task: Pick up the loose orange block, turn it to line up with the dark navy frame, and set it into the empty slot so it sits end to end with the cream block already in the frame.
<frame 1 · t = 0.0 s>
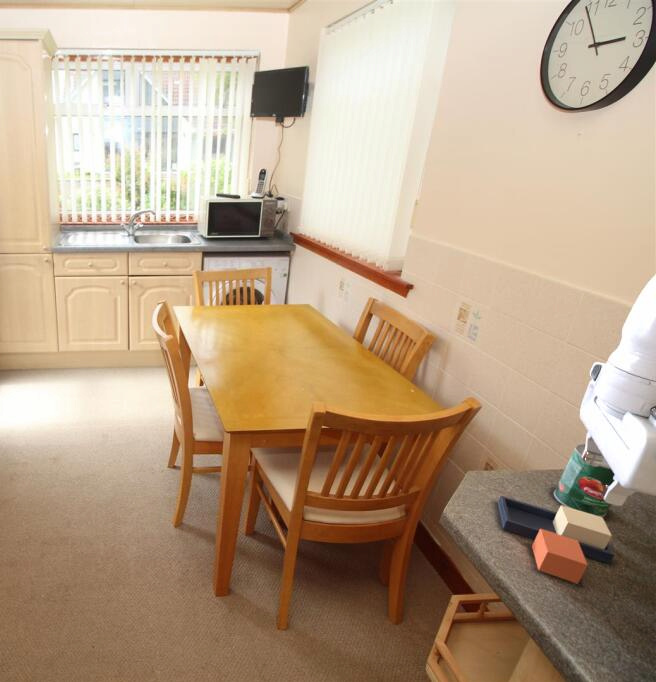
hand: (599, 481, 65), 21 cm above the countertop, tool pointing down, fingers open, 8 cm apart
canned tomato: (578, 503, 92), on the countertop
orange block: (553, 564, 78), on the countertop
frame: (549, 531, 85), on the countertop
cream block: (576, 537, 83), resting on frame
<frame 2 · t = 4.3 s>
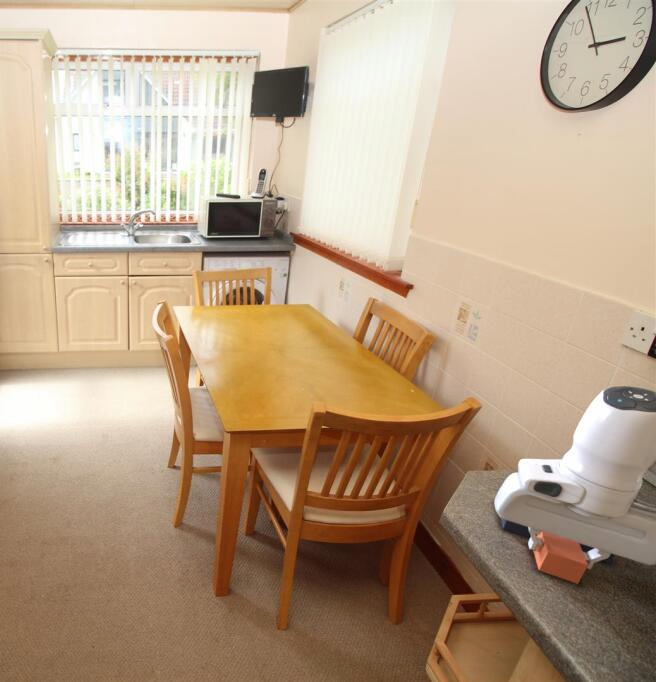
hand: (557, 556, 77), 2 cm above the countertop, tool pointing down, fingers closed on orange block, 5 cm apart
orange block: (553, 564, 78), on the countertop, touching gripper
everything else where it was.
when the fingers open (2 cm above the countertop, at t = 11.9 s): orange block stays where it is, resting on frame.
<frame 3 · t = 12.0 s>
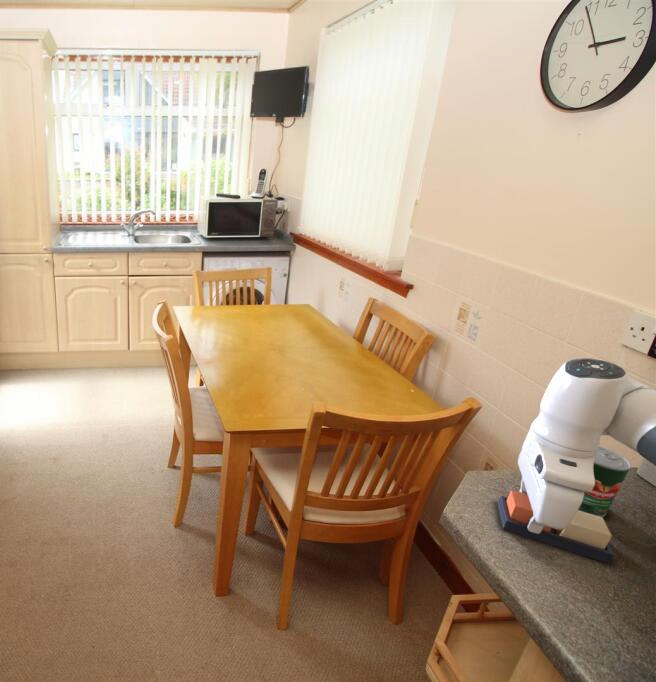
hand: (527, 514, 85), 2 cm above the countertop, tool pointing down, fingers open, 7 cm apart
orange block: (524, 520, 86), resting on frame
everything else where it was.
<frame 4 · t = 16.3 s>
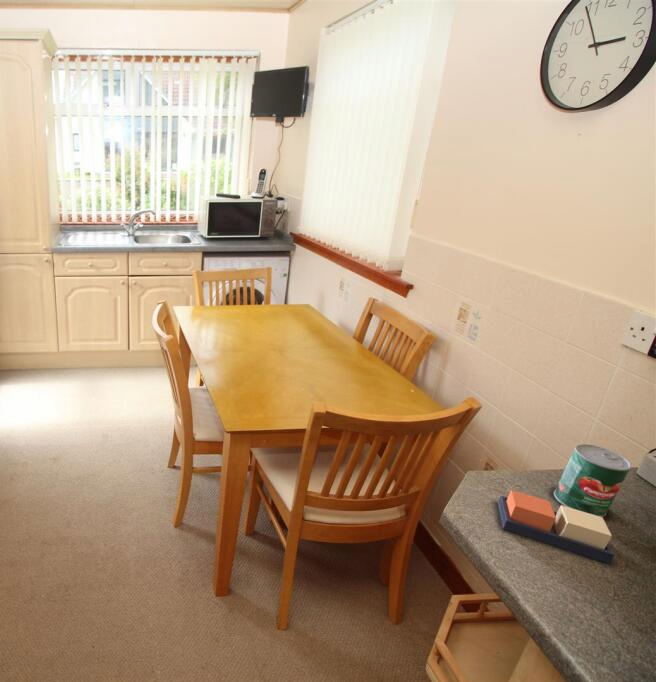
nothing on the countertop moved.
at the end: orange block 0.2 cm from the target spot in the frame, point 0.5 cm above the frame's base; orange block tilted 0°; cream block moved 0.0 cm from its start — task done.
